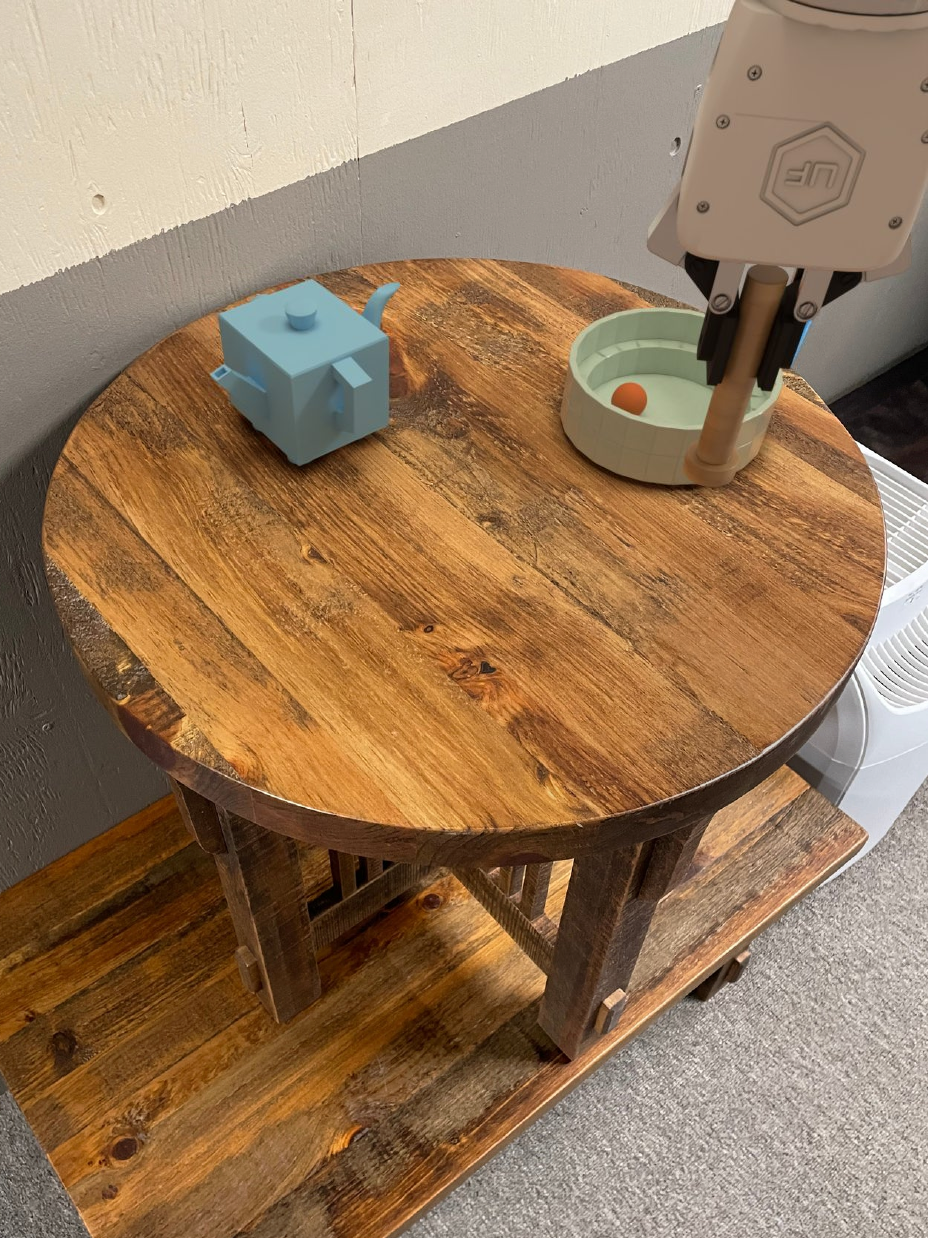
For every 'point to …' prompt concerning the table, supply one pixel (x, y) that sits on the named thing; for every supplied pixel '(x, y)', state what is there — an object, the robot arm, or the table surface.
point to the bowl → (649, 395)
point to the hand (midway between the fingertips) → (738, 371)
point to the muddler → (737, 379)
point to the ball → (630, 398)
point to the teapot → (307, 367)
